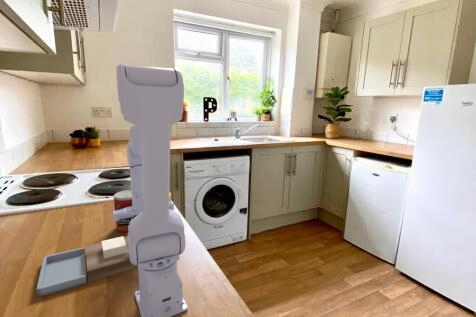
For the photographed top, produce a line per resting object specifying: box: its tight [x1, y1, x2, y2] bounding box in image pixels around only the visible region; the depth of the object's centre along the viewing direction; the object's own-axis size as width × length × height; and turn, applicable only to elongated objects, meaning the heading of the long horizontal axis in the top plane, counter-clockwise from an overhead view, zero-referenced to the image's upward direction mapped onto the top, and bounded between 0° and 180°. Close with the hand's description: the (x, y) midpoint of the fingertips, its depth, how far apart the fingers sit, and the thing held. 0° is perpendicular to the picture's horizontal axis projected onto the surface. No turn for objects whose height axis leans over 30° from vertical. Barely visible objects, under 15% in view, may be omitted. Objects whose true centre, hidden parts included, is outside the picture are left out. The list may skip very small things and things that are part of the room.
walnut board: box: [85, 235, 138, 282], centre depth 63 cm, size 12×10×2 cm
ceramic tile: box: [101, 235, 127, 258], centre depth 63 cm, size 5×5×2 cm
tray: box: [36, 246, 88, 298], centre depth 58 cm, size 13×8×2 cm, turn 31°
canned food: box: [113, 189, 134, 233], centre depth 80 cm, size 8×8×11 cm
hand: (146, 240), depth 67 cm, fingers closed
